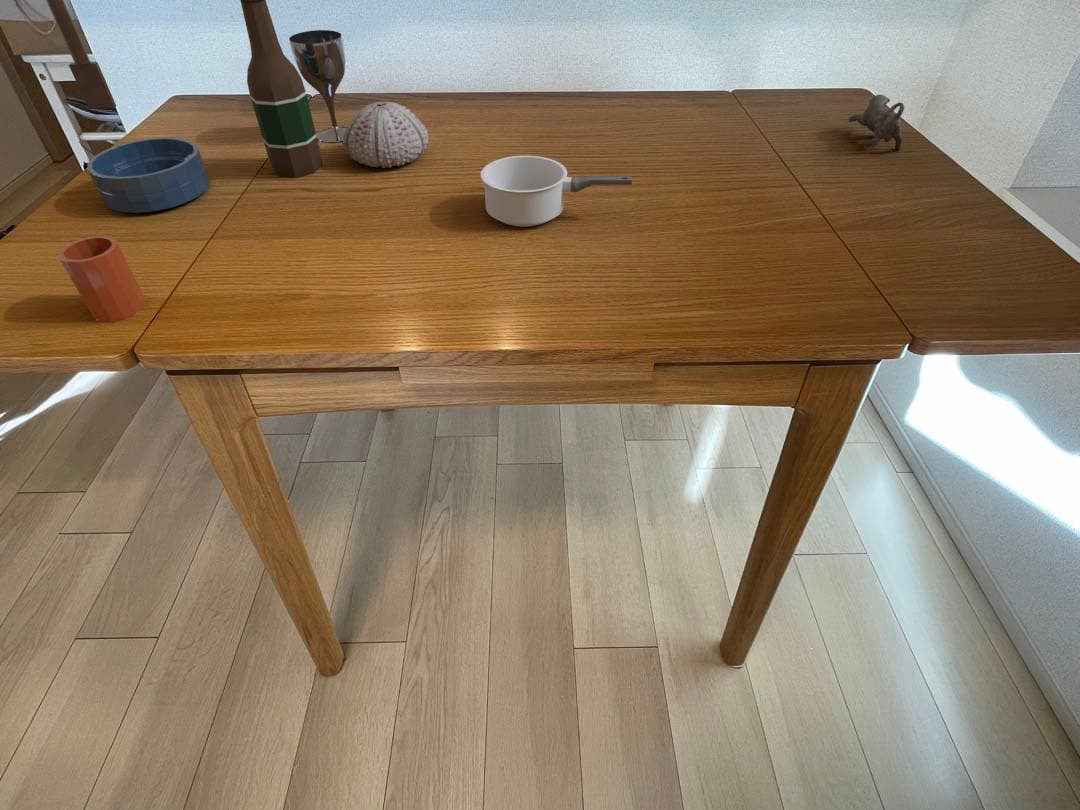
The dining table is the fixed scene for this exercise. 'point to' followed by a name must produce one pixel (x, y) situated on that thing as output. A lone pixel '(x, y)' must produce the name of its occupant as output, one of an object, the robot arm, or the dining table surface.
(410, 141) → the sea urchin shell
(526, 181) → the saucepan
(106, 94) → the spatula
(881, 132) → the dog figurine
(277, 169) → the beer bottle
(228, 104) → the dining table surface
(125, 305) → the utensil pot
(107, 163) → the bowl
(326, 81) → the wine glass
